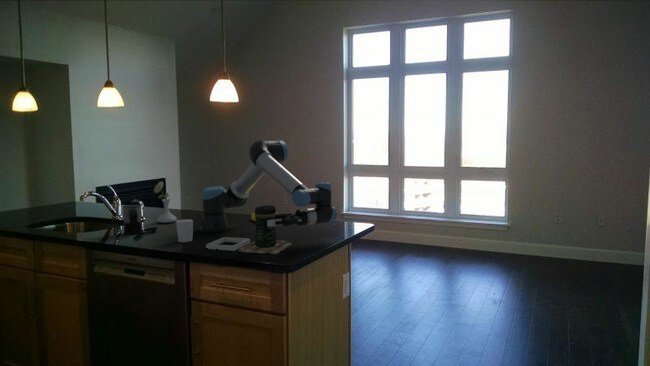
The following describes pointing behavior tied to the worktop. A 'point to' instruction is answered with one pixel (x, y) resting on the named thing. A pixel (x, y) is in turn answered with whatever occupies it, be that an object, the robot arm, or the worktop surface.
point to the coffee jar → (265, 226)
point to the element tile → (255, 218)
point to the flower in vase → (166, 216)
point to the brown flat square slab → (271, 250)
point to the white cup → (184, 230)
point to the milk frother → (134, 220)
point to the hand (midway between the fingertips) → (262, 221)
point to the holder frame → (240, 244)
